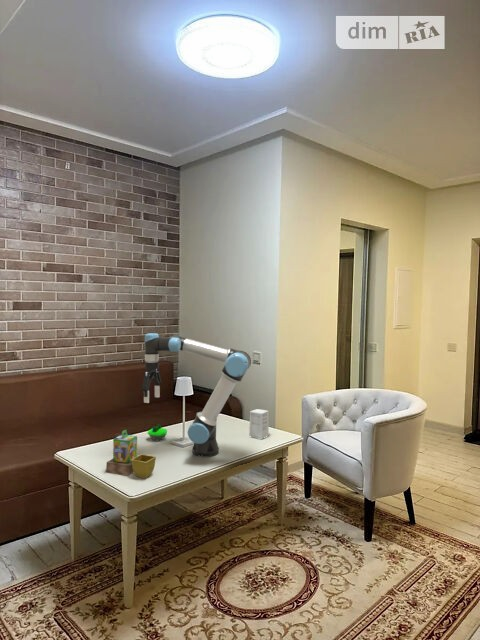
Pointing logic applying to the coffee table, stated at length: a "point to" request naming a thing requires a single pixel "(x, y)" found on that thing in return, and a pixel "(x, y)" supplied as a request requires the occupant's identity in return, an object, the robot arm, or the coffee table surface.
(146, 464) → the flower pot
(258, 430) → the supplement box
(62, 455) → the coffee table surface
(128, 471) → the podium
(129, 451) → the chalk box
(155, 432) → the green moss planter
